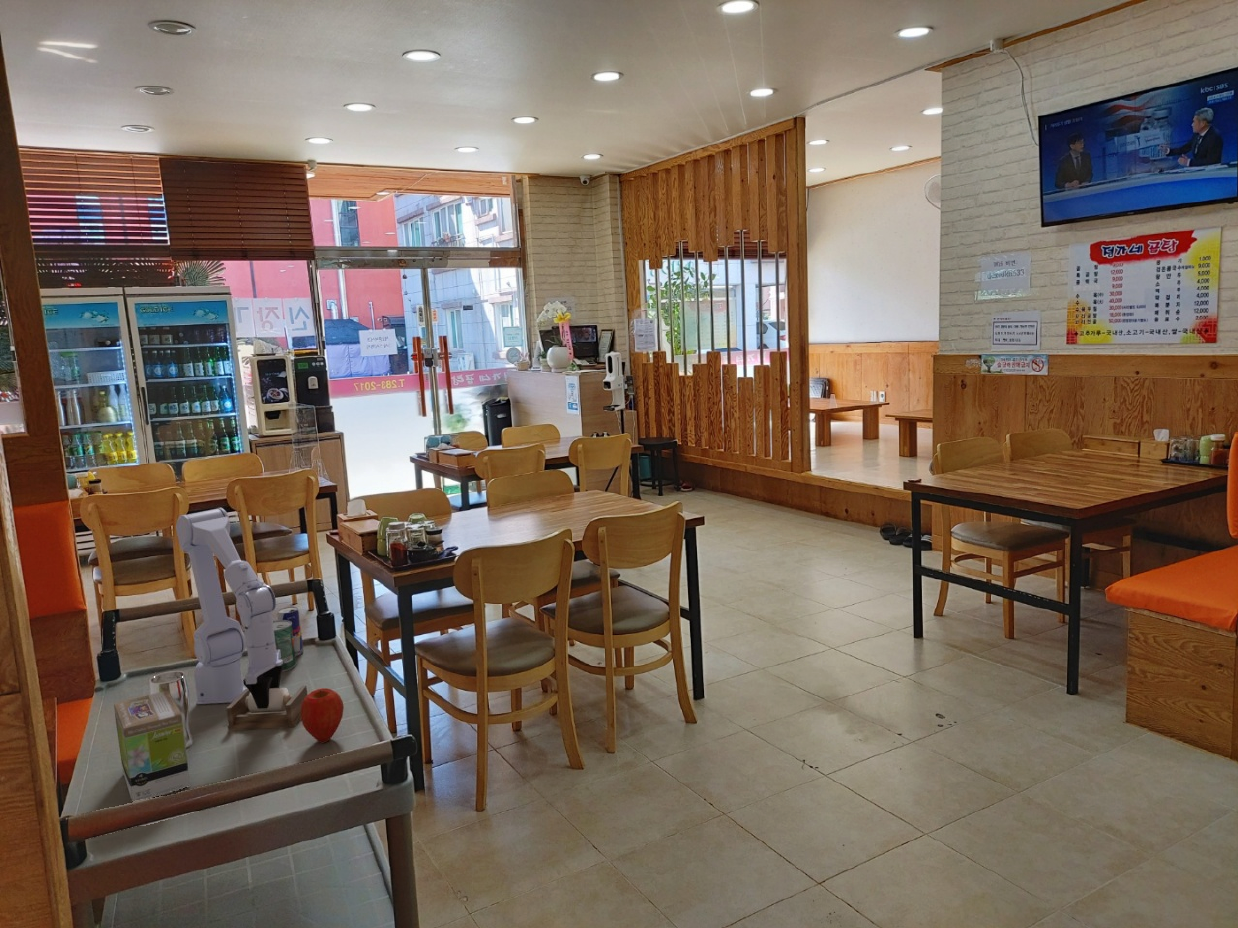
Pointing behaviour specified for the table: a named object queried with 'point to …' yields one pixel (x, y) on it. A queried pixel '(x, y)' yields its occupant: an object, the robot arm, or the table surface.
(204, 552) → the robot arm
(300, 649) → the energy drink
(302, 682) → the table surface
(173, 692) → the beer glass
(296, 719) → the holder
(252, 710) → the roll
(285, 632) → the canned tomato
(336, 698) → the apple
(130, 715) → the tea box
